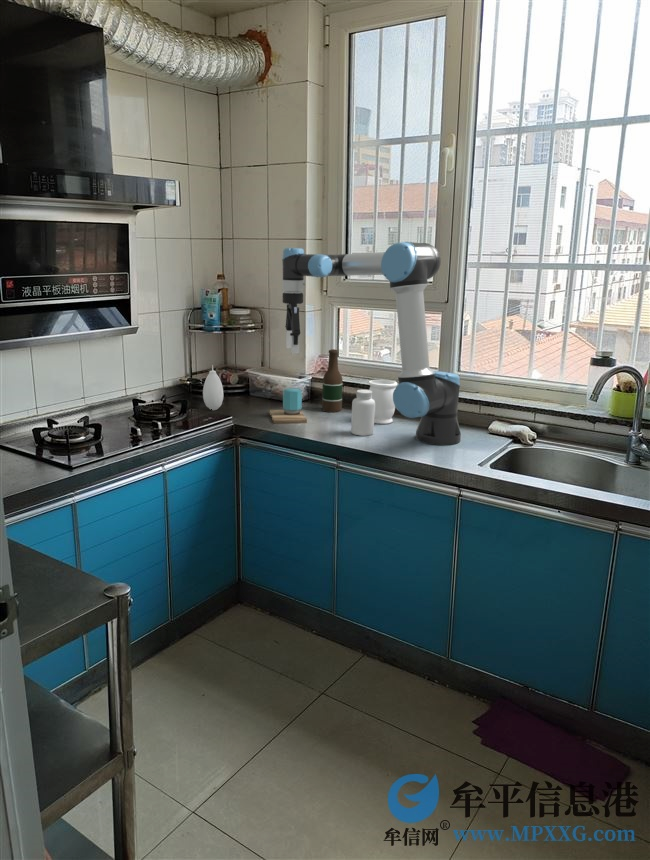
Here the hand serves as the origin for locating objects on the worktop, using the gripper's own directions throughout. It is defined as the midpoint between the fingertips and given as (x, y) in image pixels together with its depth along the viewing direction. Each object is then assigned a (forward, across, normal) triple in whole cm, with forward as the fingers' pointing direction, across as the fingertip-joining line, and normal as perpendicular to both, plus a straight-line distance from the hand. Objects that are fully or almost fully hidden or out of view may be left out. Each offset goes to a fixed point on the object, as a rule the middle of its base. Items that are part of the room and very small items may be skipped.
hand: (292, 350), depth 246 cm
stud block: (+25, -2, +2) cm, 25 cm away
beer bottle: (+25, +8, -17) cm, 31 cm away
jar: (+25, -11, -32) cm, 42 cm away
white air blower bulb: (+25, +13, +29) cm, 40 cm away
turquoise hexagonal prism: (+22, 0, 0) cm, 22 cm away
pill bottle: (+25, -26, -21) cm, 42 cm away
